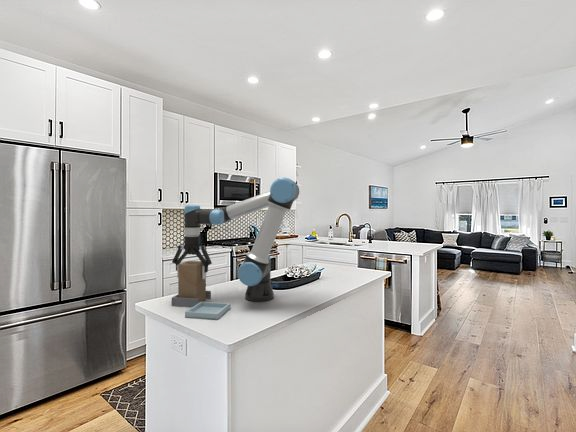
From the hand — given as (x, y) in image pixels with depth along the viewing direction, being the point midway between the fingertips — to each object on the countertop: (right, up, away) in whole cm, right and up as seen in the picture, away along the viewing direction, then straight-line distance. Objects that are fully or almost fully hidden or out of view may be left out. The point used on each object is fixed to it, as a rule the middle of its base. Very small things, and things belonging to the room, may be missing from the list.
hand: (191, 278), depth 156 cm
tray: (+13, -13, -16) cm, 24 cm away
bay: (0, -12, 0) cm, 12 cm away
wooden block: (0, -12, 0) cm, 12 cm away
